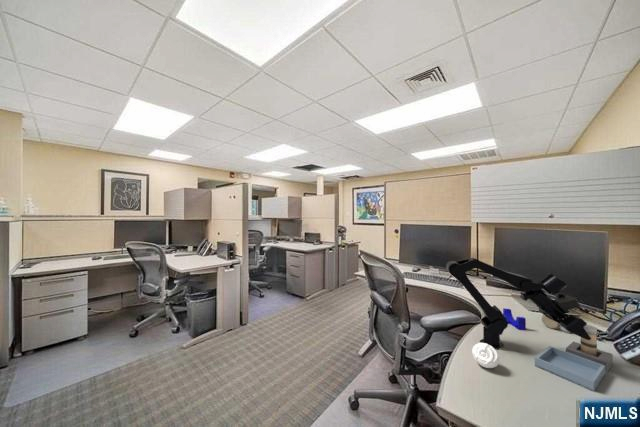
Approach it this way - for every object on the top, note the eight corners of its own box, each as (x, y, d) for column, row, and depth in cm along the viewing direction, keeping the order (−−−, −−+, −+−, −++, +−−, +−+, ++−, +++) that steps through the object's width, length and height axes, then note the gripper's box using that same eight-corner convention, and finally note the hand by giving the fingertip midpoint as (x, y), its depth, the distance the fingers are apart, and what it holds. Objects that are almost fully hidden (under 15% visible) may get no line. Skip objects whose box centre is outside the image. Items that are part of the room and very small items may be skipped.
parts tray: (593, 391, 70) (593, 381, 70) (534, 365, 82) (534, 357, 82) (605, 374, 78) (605, 365, 78) (550, 353, 90) (549, 345, 90)
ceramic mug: (540, 325, 114) (540, 310, 114) (548, 322, 118) (548, 308, 118) (569, 335, 105) (569, 319, 105) (577, 332, 108) (577, 316, 108)
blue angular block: (500, 319, 122) (500, 308, 122) (509, 319, 121) (509, 308, 121) (515, 329, 110) (515, 317, 110) (525, 330, 109) (525, 318, 109)
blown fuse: (596, 365, 83) (595, 330, 83) (579, 359, 87) (578, 325, 87) (598, 361, 85) (598, 327, 86) (582, 355, 89) (581, 322, 89)
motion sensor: (469, 364, 83) (469, 343, 83) (476, 356, 88) (476, 336, 88) (495, 376, 77) (495, 353, 77) (502, 367, 81) (502, 346, 82)
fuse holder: (606, 372, 79) (606, 362, 79) (565, 357, 88) (565, 348, 88) (612, 363, 84) (612, 354, 84) (573, 349, 93) (573, 341, 93)
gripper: (578, 296, 81) (622, 332, 76) (546, 282, 98) (581, 311, 94) (551, 315, 83) (592, 351, 79) (525, 298, 101) (557, 327, 96)
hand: (580, 333), depth 87 cm, fingers open, 9 cm apart
